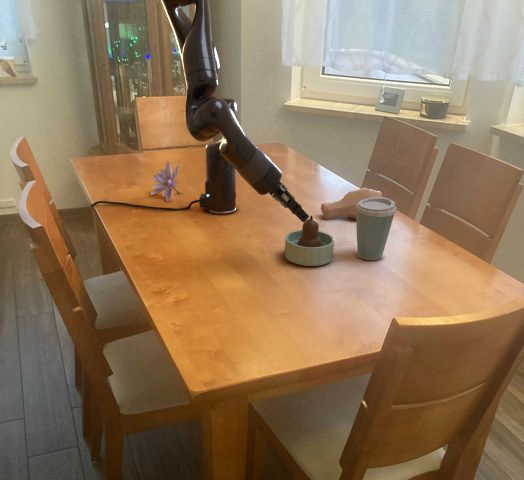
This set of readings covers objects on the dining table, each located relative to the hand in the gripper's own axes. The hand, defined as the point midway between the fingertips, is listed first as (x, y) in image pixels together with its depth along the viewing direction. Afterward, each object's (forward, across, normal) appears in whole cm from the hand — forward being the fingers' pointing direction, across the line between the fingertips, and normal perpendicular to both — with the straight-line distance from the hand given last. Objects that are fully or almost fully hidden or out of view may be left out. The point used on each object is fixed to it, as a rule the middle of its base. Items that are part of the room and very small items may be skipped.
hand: (300, 213), depth 138 cm
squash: (+29, -26, +11) cm, 41 cm away
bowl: (+11, 0, -6) cm, 13 cm away
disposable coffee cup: (+23, +3, +5) cm, 24 cm away
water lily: (-9, -60, -27) cm, 67 cm away
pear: (+11, 0, -6) cm, 12 cm away
